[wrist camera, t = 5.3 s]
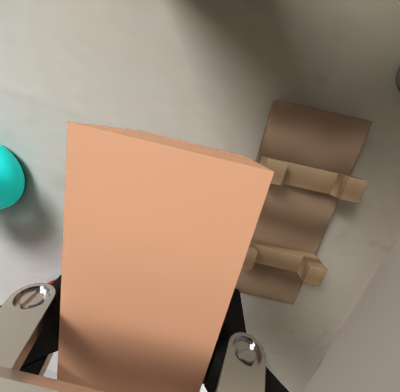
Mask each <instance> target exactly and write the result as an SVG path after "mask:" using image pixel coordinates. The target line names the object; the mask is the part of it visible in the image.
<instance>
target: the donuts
mask: <svg viewBox="0 0 400 392" xmlns="http://www.w3.org/2000/svg"><path fill="white" fill-rule="evenodd" d="M24 187H25V178H24V173H23V170H22V167H21V165H20V163H19V162H18V160H17V159H16V158H15V156H14V155H13V154H12V153H11V152H10V151H9V150H8V149H6V148H5V147H3V146H2V145H0V209H4V208H7V207H10V206H11V205H13V204H14V203H16V202H17V201H18V200H19V199H20V197H21V196H22V194H23V191H24Z"/></svg>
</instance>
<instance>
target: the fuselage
mask: <svg viewBox="0 0 400 392" xmlns="http://www.w3.org/2000/svg"><path fill="white" fill-rule="evenodd" d="M273 174H274V171H272V170H270V169H268V168H266V167H264V166H262V165H261V164H259V163H257V162H255V161H253V160H251V159H249V158H247V157H245V156H243V155H239V154H234V153H230V152H226V151H222V150H218V149H214V148H210V147H206V146H201V145H197V144H193V143H189V142H185V141H181V140H177V139H173V138H168V137H164V136H160V135H156V134H152V133H148V132H144V131H137V130H129V129H121V128H113V127H105V126H98V125H90V124H82V123H74V122H68V133H67V156H66V180H65V204H64V228H63V252H62V276H61V300H60V324H59V348H58V371H57V380H60V381H64V382H68V383H72V384H76V385H80V386H84V387H87V388H91V389H95V390H99V391H103V392H200V389H201V386H202V383H203V380H204V377H205V374H206V371H207V368H208V365H209V363H210V360H211V357H212V354H213V351H214V348H215V345H216V342H217V339H218V336H219V333H220V330H221V327H222V324H223V321H224V318H225V315H226V313H227V310H228V307H229V304H230V301H231V298H232V295H233V292H234V289H235V286H236V283H237V280H238V277H239V274H240V271H241V268H242V265H243V263H244V260H245V257H246V254H247V251H248V248H249V245H250V242H251V239H252V236H253V233H254V230H255V227H256V224H257V221H258V218H259V215H260V213H261V210H262V207H263V204H264V201H265V198H266V195H267V192H268V189H269V186H270V183H271V180H272V177H273Z"/></svg>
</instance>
